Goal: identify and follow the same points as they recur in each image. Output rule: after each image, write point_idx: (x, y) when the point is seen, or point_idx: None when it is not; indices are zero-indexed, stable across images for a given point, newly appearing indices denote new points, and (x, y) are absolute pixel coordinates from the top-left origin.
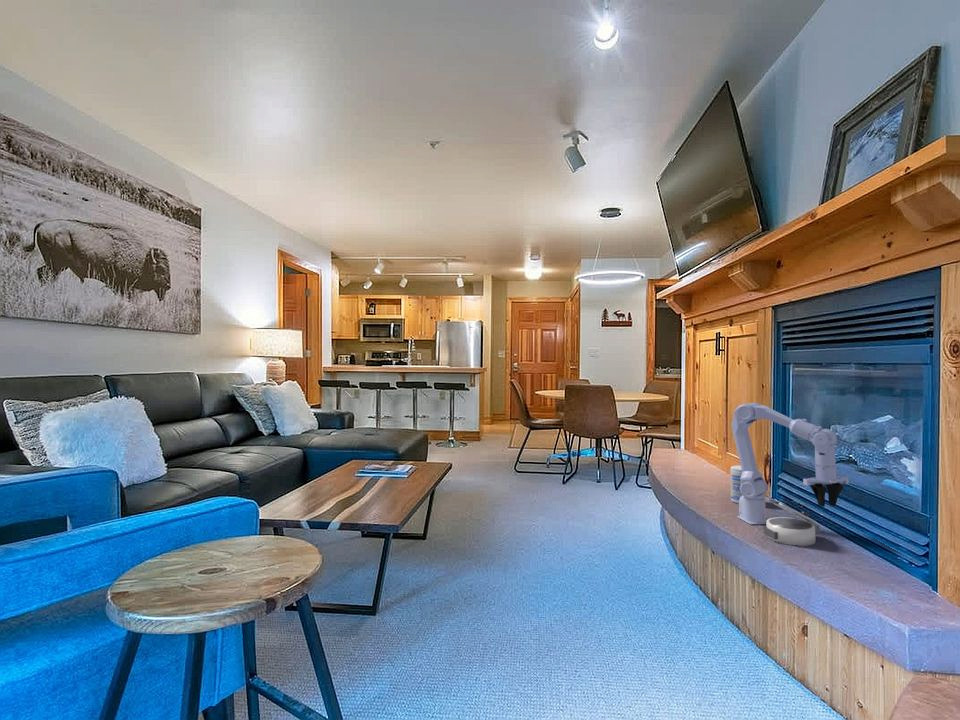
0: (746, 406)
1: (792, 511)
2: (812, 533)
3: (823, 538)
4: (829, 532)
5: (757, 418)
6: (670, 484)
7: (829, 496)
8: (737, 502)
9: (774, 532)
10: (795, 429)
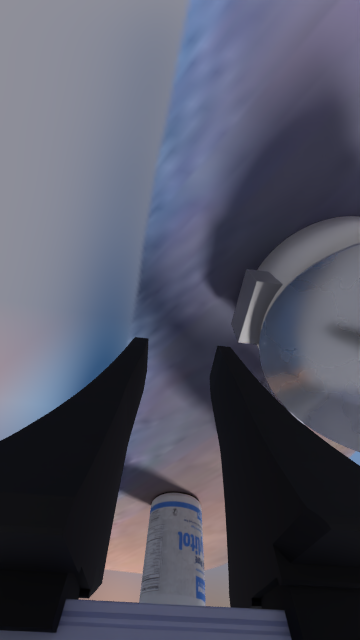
0: None
1: None
2: (345, 228)
3: (214, 271)
4: (144, 316)
5: None
6: (222, 563)
7: (132, 420)
8: (198, 502)
9: None
10: None
